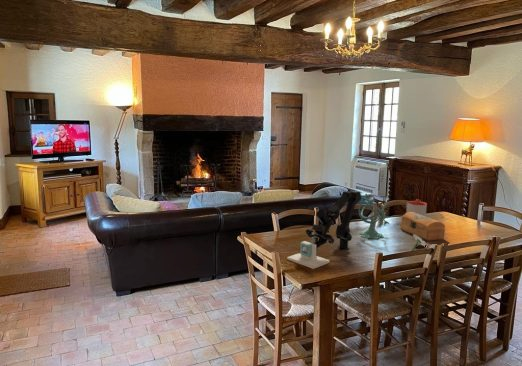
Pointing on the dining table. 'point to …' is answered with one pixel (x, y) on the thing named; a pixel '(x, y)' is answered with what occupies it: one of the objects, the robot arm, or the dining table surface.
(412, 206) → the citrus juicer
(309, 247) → the spacer
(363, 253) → the dining table surface
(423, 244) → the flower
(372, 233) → the green tall branching piece
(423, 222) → the wooden box
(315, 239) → the grey block
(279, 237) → the dining table surface
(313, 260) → the white mounting stand
